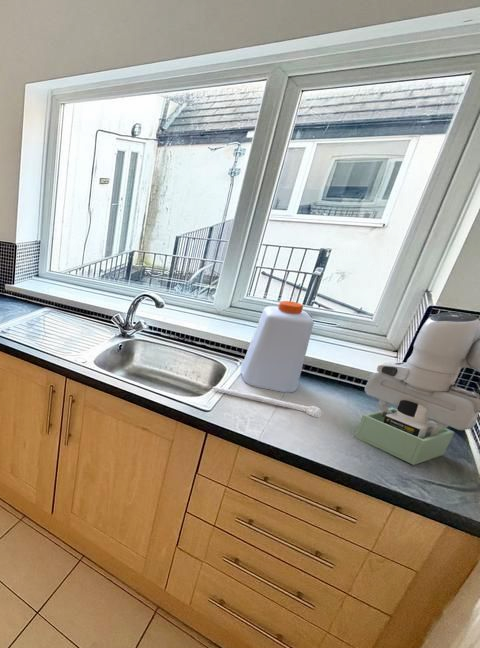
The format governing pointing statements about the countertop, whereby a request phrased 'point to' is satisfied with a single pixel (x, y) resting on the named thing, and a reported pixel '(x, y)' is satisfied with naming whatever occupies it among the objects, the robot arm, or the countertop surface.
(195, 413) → the countertop surface
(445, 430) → the bin
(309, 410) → the white knobbed stick
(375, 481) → the countertop surface
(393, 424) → the medicine bottle
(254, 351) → the plastic bottle
